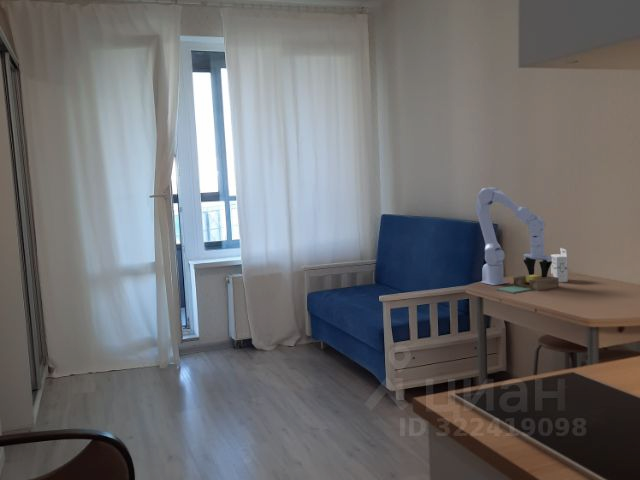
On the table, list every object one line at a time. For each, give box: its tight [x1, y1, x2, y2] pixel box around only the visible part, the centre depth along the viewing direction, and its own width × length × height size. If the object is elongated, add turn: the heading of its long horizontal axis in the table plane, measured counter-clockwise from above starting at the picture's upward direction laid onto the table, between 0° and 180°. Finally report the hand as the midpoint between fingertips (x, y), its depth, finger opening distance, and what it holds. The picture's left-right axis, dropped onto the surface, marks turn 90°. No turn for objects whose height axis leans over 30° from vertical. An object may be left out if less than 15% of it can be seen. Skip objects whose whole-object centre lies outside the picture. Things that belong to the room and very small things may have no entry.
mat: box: [496, 285, 532, 294], centre depth 268 cm, size 10×10×1 cm
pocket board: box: [513, 274, 560, 291], centre depth 273 cm, size 14×12×4 cm
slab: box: [526, 273, 543, 282], centre depth 273 cm, size 4×8×3 cm, turn 116°
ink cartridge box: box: [550, 247, 569, 283], centre depth 282 cm, size 9×5×15 cm, turn 179°
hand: (537, 276), depth 273 cm, fingers open, 7 cm apart
